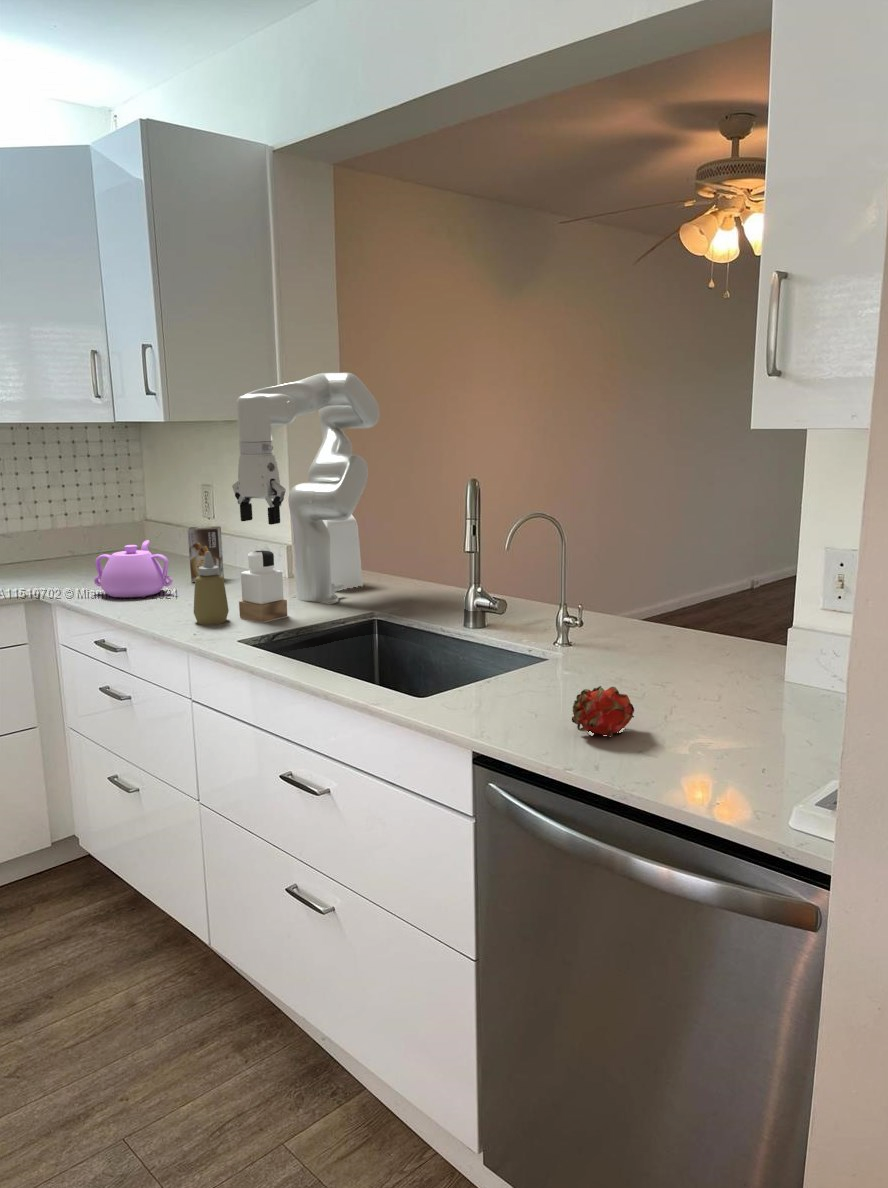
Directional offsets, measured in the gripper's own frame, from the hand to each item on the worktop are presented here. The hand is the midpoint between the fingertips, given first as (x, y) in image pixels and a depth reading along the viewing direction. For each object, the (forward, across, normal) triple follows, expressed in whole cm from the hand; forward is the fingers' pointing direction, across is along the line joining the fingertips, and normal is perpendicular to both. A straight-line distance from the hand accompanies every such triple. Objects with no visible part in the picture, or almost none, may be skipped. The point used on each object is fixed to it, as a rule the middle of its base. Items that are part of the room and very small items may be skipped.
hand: (260, 522), depth 216 cm
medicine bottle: (+19, 0, +1) cm, 19 cm away
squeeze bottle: (+24, +6, +11) cm, 28 cm away
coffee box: (+25, +54, -26) cm, 65 cm away
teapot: (+25, +56, -2) cm, 61 cm away
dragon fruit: (+24, -102, +20) cm, 106 cm away
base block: (+23, 0, +1) cm, 23 cm away
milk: (+26, +17, -42) cm, 52 cm away
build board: (+24, 0, +1) cm, 24 cm away
